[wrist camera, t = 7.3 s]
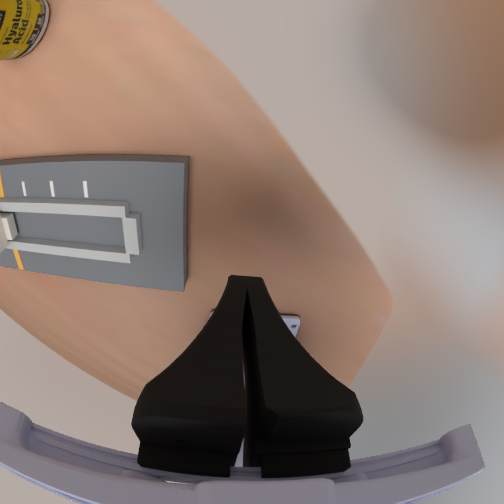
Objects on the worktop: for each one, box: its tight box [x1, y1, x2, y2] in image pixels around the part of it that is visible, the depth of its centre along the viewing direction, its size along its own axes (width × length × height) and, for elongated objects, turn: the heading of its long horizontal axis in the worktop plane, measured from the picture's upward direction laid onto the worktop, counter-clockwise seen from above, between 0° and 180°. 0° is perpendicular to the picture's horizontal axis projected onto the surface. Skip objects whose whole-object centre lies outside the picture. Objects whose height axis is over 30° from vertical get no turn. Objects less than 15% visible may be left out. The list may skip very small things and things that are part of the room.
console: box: [0, 154, 189, 292], centre depth 19 cm, size 10×22×2 cm, turn 83°
